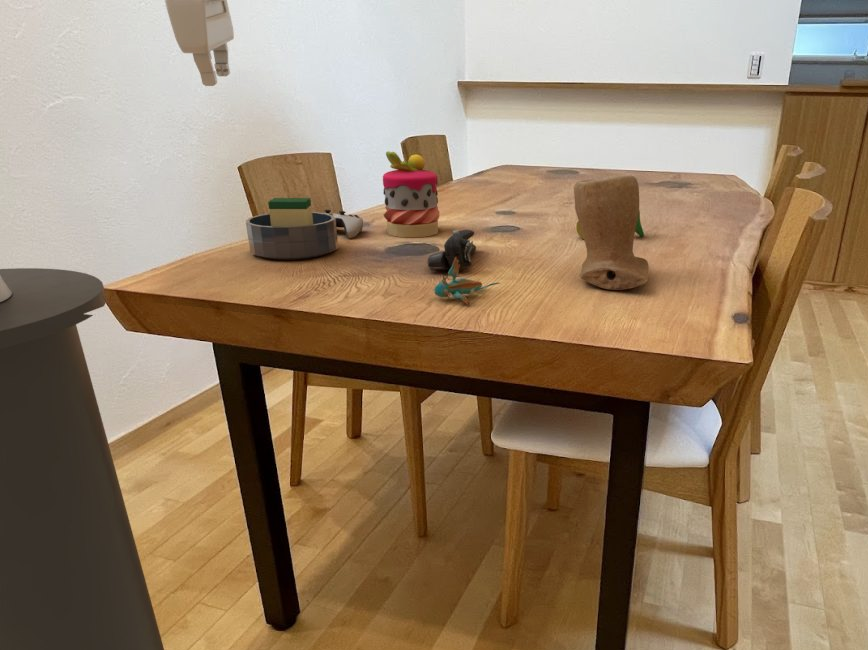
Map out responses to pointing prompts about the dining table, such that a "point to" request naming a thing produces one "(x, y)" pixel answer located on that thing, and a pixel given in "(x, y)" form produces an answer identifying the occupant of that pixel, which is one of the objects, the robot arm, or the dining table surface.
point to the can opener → (454, 251)
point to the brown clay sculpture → (610, 232)
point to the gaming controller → (348, 223)
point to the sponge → (290, 212)
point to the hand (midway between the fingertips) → (217, 80)
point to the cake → (410, 198)
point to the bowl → (292, 238)
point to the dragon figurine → (457, 285)
